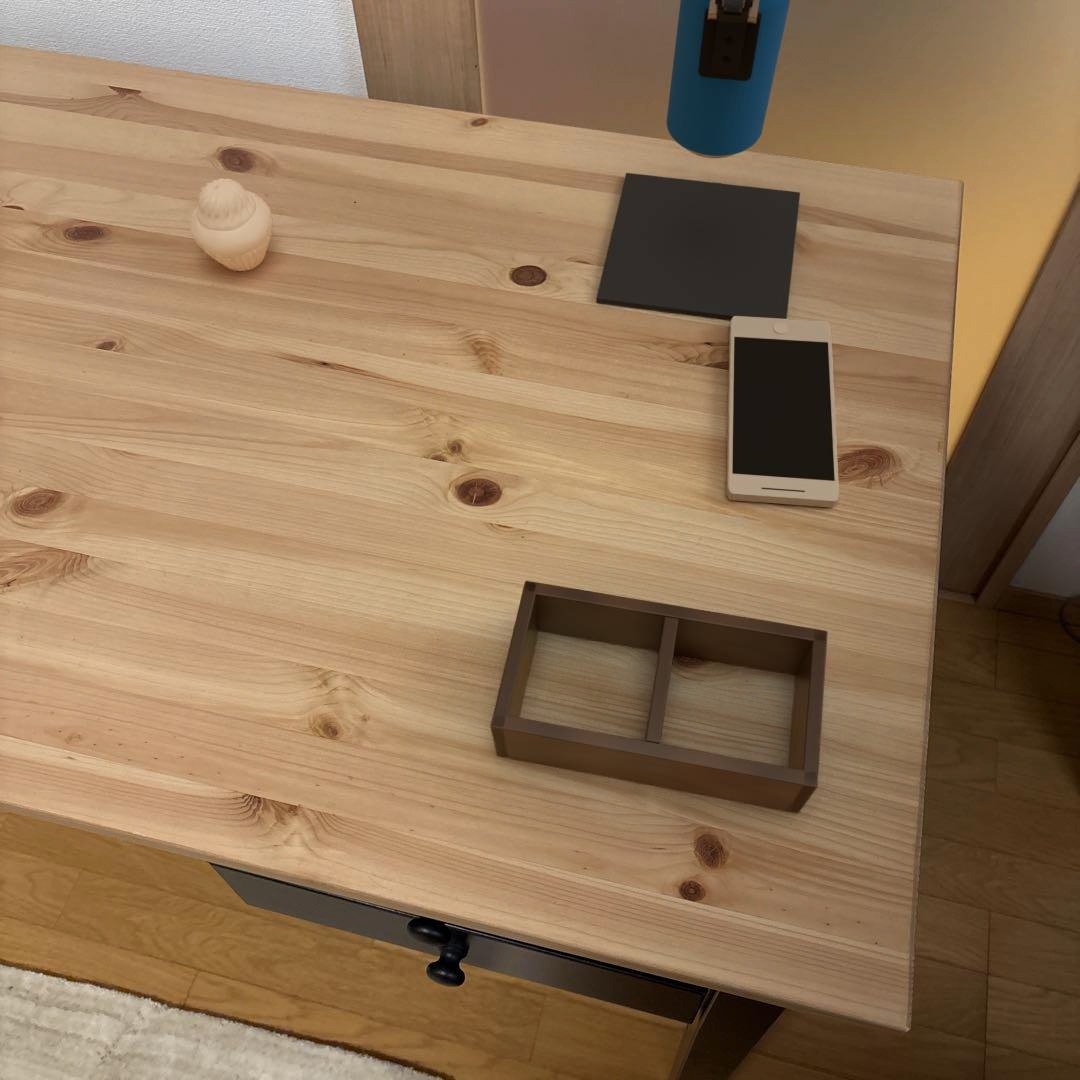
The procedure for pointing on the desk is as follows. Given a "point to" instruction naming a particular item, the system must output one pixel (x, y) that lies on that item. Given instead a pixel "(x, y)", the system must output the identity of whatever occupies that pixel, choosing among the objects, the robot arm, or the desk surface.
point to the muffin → (231, 224)
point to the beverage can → (721, 86)
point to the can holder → (665, 695)
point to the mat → (701, 248)
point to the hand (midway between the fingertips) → (731, 37)
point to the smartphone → (781, 412)
